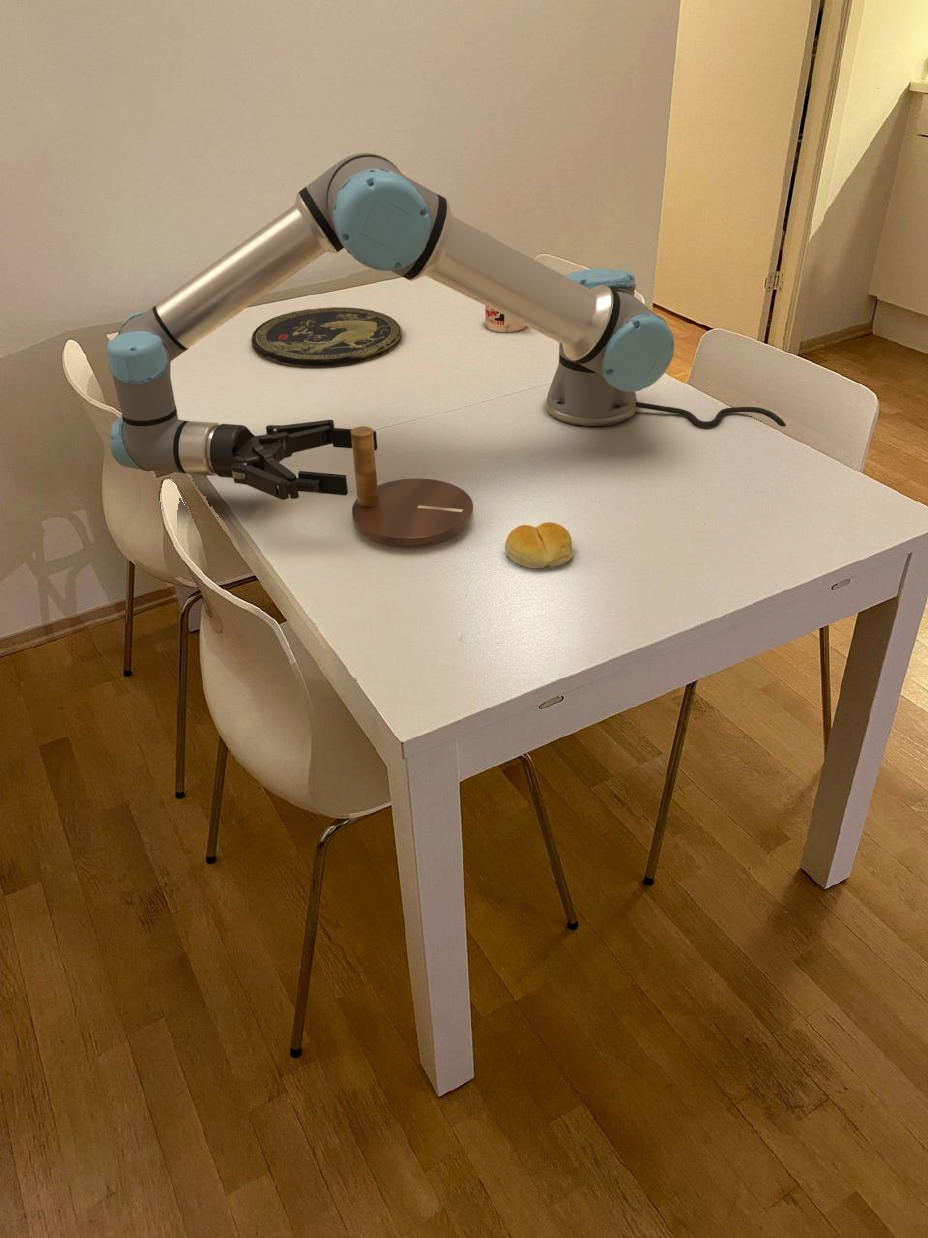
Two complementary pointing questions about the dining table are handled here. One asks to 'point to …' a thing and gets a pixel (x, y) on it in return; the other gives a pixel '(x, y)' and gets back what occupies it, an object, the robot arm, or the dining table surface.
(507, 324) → the teacup with lid
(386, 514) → the turntable
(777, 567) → the dining table surface
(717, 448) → the dining table surface
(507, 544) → the bread roll
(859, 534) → the dining table surface
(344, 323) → the decorative plate
